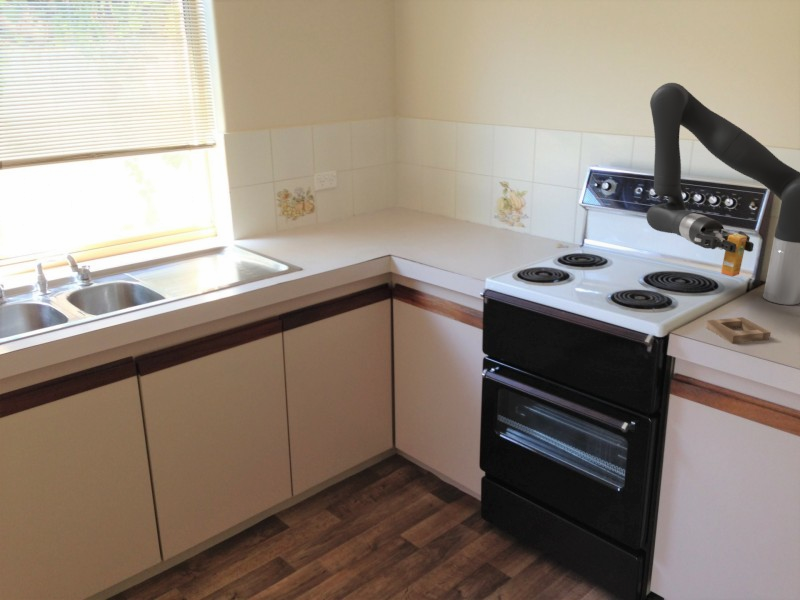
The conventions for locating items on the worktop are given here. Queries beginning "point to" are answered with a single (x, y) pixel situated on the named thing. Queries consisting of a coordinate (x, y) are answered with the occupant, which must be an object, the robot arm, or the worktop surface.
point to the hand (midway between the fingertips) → (743, 248)
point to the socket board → (748, 335)
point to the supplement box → (734, 255)
